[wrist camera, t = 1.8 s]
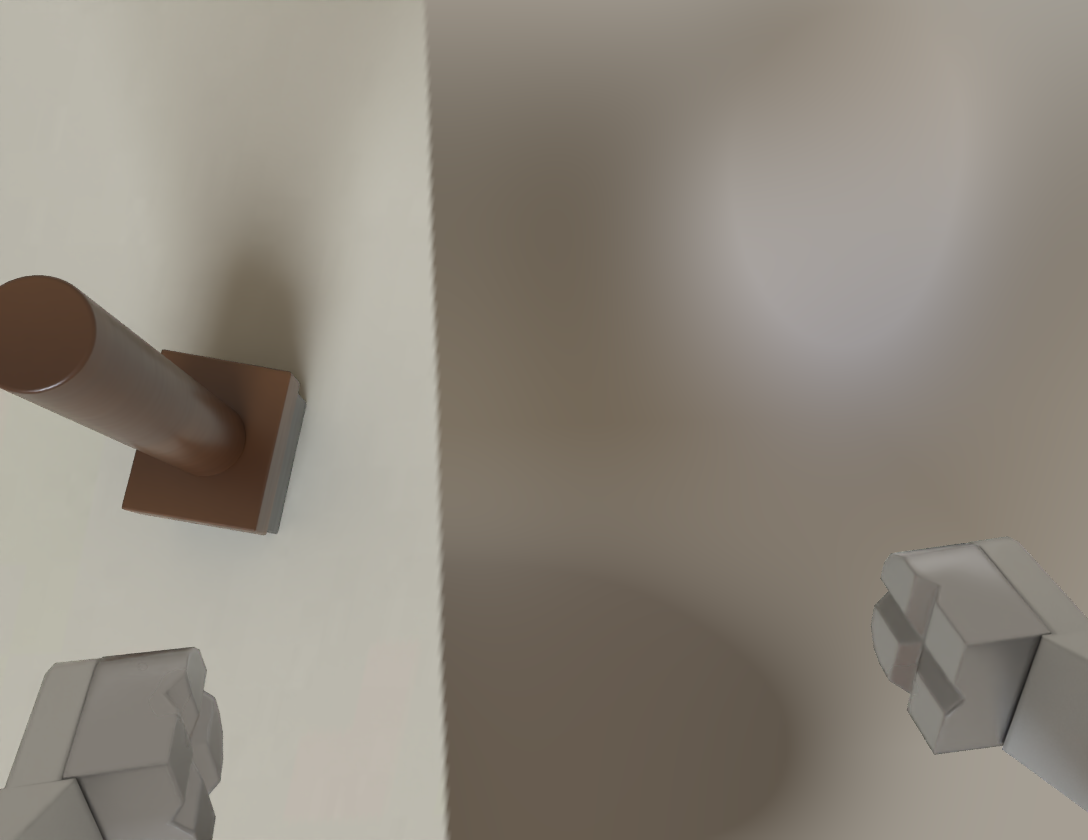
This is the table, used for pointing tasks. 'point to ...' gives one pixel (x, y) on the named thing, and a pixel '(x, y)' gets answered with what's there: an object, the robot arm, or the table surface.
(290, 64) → the table surface
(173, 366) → the dish brush
